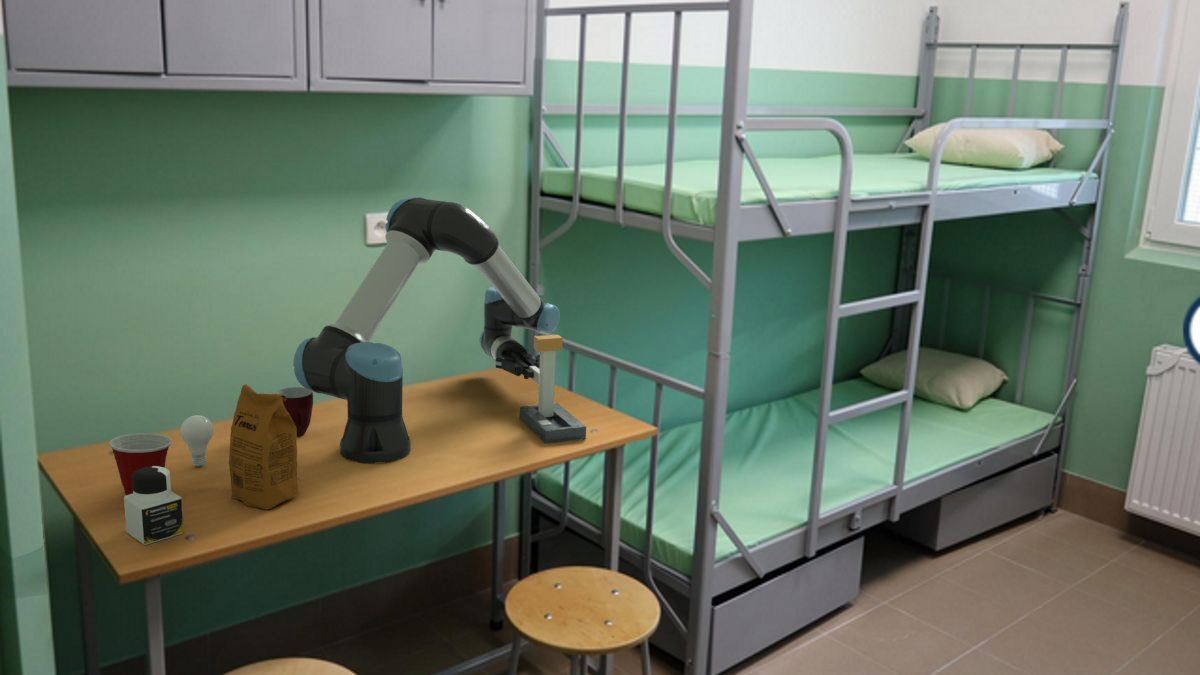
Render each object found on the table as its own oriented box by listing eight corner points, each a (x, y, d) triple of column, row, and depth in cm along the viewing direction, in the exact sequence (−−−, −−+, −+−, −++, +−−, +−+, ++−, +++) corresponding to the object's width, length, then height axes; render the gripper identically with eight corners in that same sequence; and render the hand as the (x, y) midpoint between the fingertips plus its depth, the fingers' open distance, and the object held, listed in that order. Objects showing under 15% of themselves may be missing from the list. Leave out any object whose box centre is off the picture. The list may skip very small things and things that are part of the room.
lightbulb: (182, 462, 212) (178, 412, 209) (214, 459, 215) (211, 409, 212) (183, 473, 207) (179, 422, 204) (216, 470, 209) (213, 419, 206)
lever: (531, 414, 246) (534, 336, 241) (555, 412, 248) (557, 334, 243) (536, 418, 243) (538, 339, 238) (559, 416, 245) (562, 337, 240)
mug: (326, 438, 229) (325, 396, 227) (293, 446, 224) (291, 403, 221) (303, 426, 237) (302, 385, 234) (270, 433, 231) (269, 391, 229)
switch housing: (519, 418, 248) (519, 406, 247) (557, 414, 252) (557, 402, 252) (545, 443, 232) (546, 430, 232) (585, 438, 236) (586, 425, 236)
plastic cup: (186, 499, 194) (182, 440, 192) (129, 515, 187) (124, 454, 184) (159, 483, 201) (155, 425, 198) (103, 498, 194) (98, 438, 191)
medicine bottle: (144, 546, 175) (139, 481, 172) (125, 533, 180) (120, 469, 177) (184, 534, 180) (180, 470, 177) (165, 521, 185) (161, 459, 182)
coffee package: (264, 482, 204) (260, 377, 199) (306, 498, 198) (302, 389, 192) (221, 497, 196) (216, 388, 191) (263, 514, 190) (258, 402, 184)
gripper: (532, 365, 272) (565, 390, 251) (485, 369, 267) (515, 395, 246) (532, 338, 270) (566, 361, 249) (485, 341, 265) (516, 365, 244)
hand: (541, 378), depth 248 cm, fingers closed
